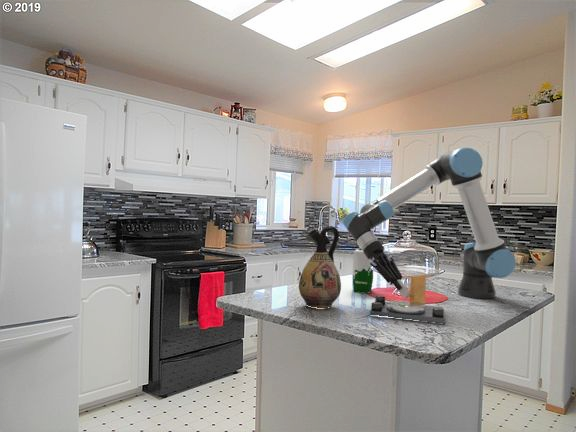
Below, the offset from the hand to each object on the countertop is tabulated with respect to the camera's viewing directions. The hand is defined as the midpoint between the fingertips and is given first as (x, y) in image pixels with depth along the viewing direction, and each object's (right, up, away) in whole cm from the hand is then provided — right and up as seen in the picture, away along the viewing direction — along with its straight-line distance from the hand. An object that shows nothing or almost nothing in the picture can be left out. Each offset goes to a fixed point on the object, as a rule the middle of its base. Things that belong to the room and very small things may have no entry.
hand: (407, 296), depth 158 cm
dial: (0, -3, -4) cm, 5 cm away
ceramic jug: (-31, -5, +3) cm, 31 cm away
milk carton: (-10, -4, +35) cm, 37 cm away
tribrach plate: (-1, -6, -5) cm, 7 cm away
